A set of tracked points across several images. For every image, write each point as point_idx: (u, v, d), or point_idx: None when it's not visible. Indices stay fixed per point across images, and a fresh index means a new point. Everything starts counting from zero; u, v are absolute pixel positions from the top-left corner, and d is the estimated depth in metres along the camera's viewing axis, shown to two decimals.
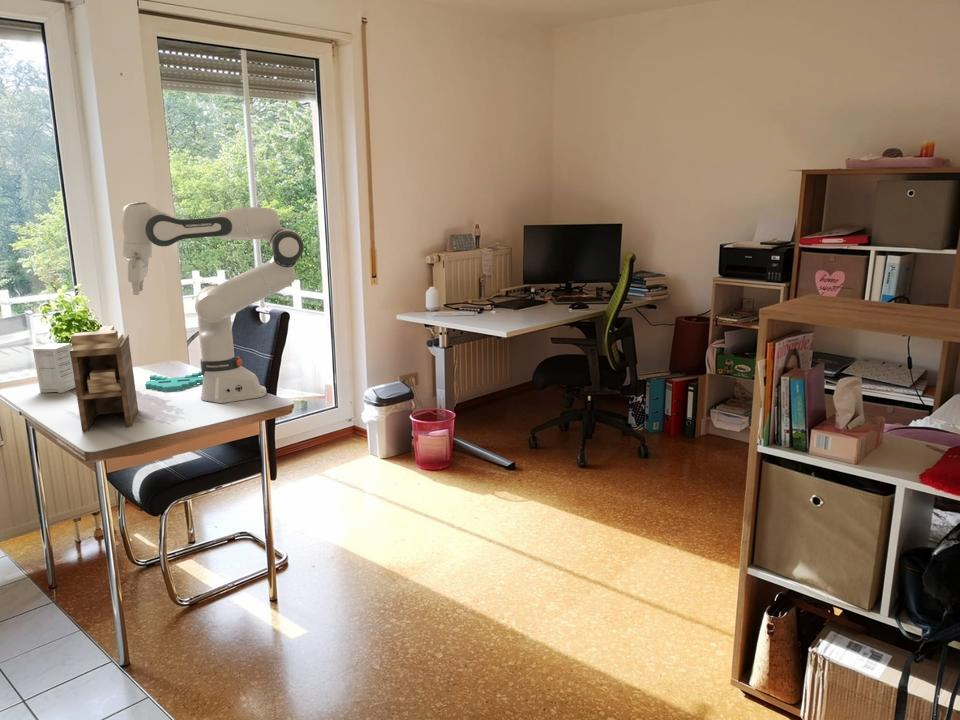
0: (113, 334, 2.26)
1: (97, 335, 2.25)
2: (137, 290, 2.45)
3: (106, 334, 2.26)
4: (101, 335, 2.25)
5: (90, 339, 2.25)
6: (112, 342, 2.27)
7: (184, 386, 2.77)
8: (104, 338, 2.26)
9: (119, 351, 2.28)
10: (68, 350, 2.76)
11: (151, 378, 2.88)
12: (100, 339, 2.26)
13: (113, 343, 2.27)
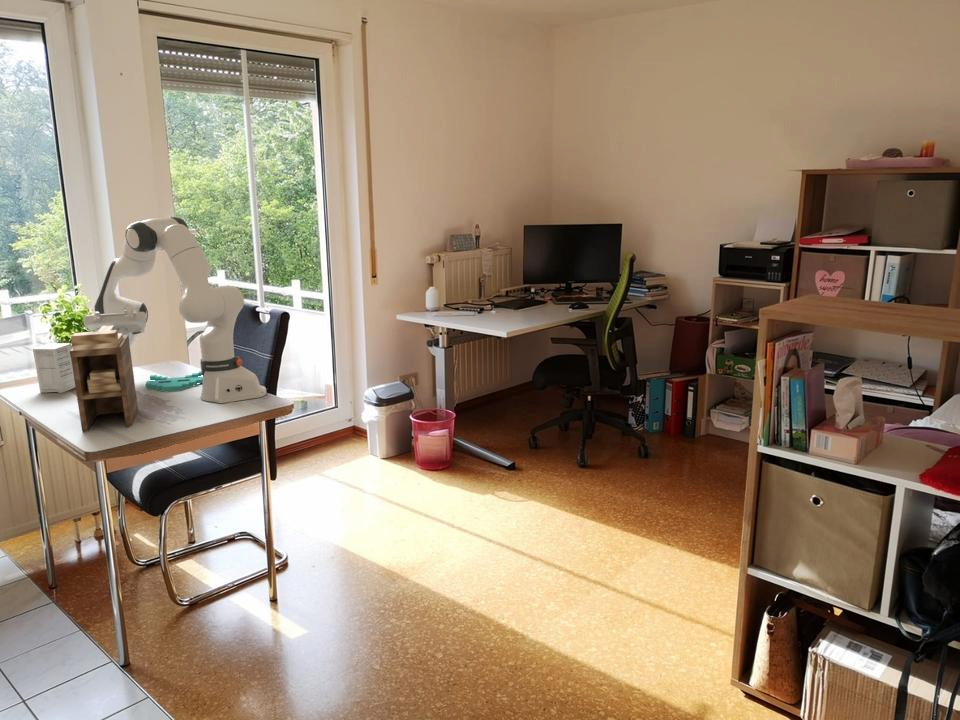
0: (113, 334, 2.26)
1: (97, 335, 2.25)
2: (95, 314, 2.61)
3: (106, 334, 2.26)
4: (101, 335, 2.25)
5: (90, 339, 2.25)
6: (112, 342, 2.27)
7: (184, 386, 2.77)
8: (104, 338, 2.26)
9: (119, 351, 2.28)
10: (68, 350, 2.76)
11: (151, 378, 2.88)
12: (100, 339, 2.26)
13: (113, 343, 2.27)
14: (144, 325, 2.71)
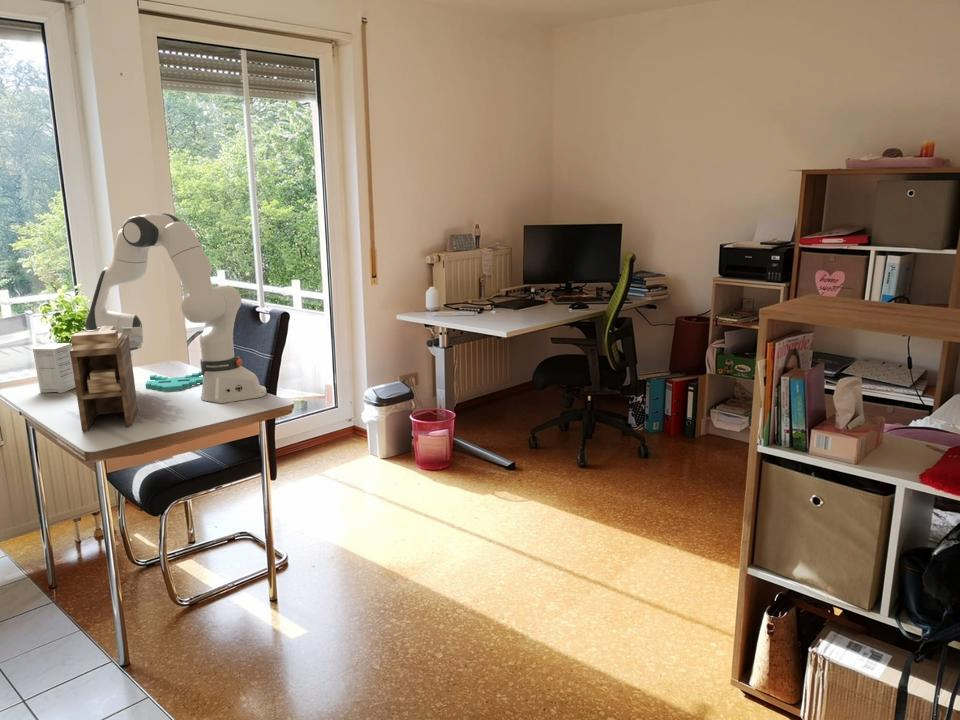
0: (113, 334, 2.26)
1: (97, 335, 2.25)
2: (97, 329, 2.49)
3: (106, 334, 2.26)
4: (101, 335, 2.25)
5: (90, 339, 2.25)
6: (112, 342, 2.27)
7: (184, 386, 2.77)
8: (104, 338, 2.26)
9: (119, 351, 2.28)
10: (68, 350, 2.76)
11: (151, 378, 2.88)
12: (100, 339, 2.26)
13: (113, 343, 2.27)
14: (141, 341, 2.59)
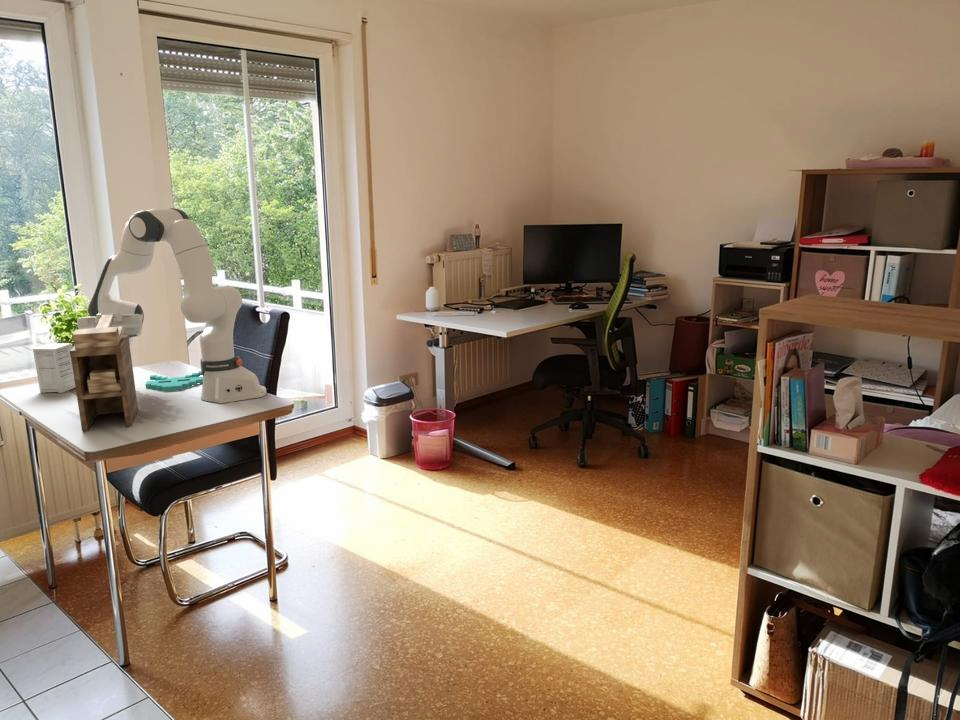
0: (114, 333, 2.29)
1: (98, 334, 2.27)
2: None
3: (107, 333, 2.28)
4: (102, 334, 2.28)
5: (92, 337, 2.27)
6: (113, 340, 2.29)
7: (184, 386, 2.77)
8: (105, 336, 2.28)
9: (119, 351, 2.28)
10: (68, 350, 2.76)
11: (151, 378, 2.88)
12: (101, 337, 2.28)
13: (114, 341, 2.29)
14: (140, 328, 2.61)
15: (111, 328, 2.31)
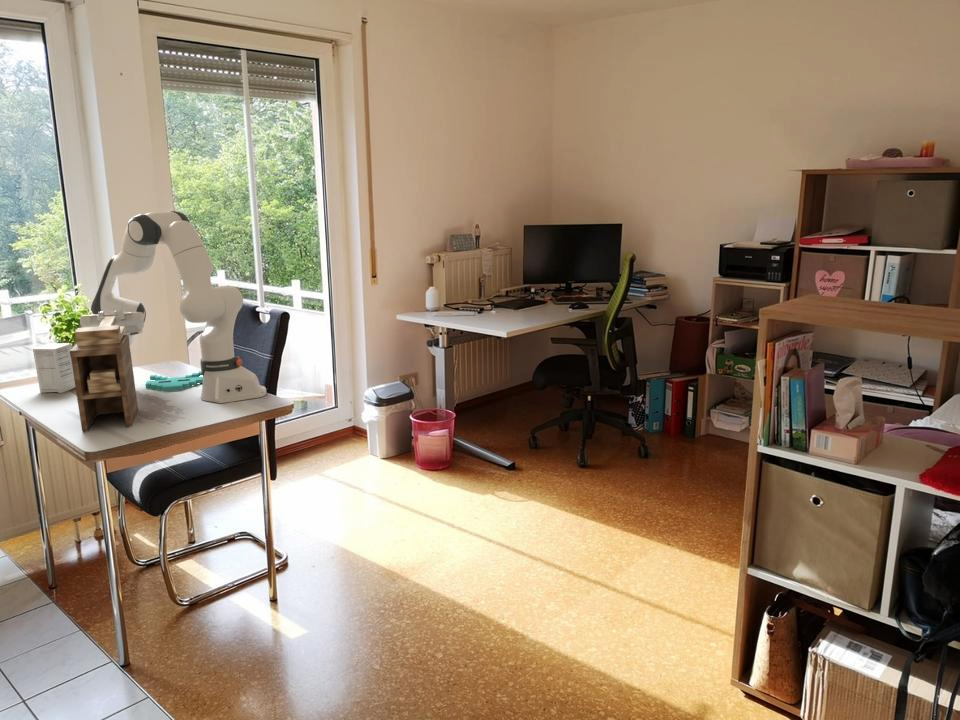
0: (116, 330, 2.32)
1: (100, 331, 2.31)
2: (99, 314, 2.56)
3: (109, 330, 2.32)
4: (104, 331, 2.31)
5: (94, 334, 2.31)
6: (115, 338, 2.33)
7: (184, 386, 2.77)
8: (107, 334, 2.32)
9: (119, 351, 2.28)
10: (68, 350, 2.76)
11: (151, 378, 2.88)
12: (103, 335, 2.32)
13: (115, 339, 2.33)
14: (142, 325, 2.65)
15: (113, 326, 2.35)
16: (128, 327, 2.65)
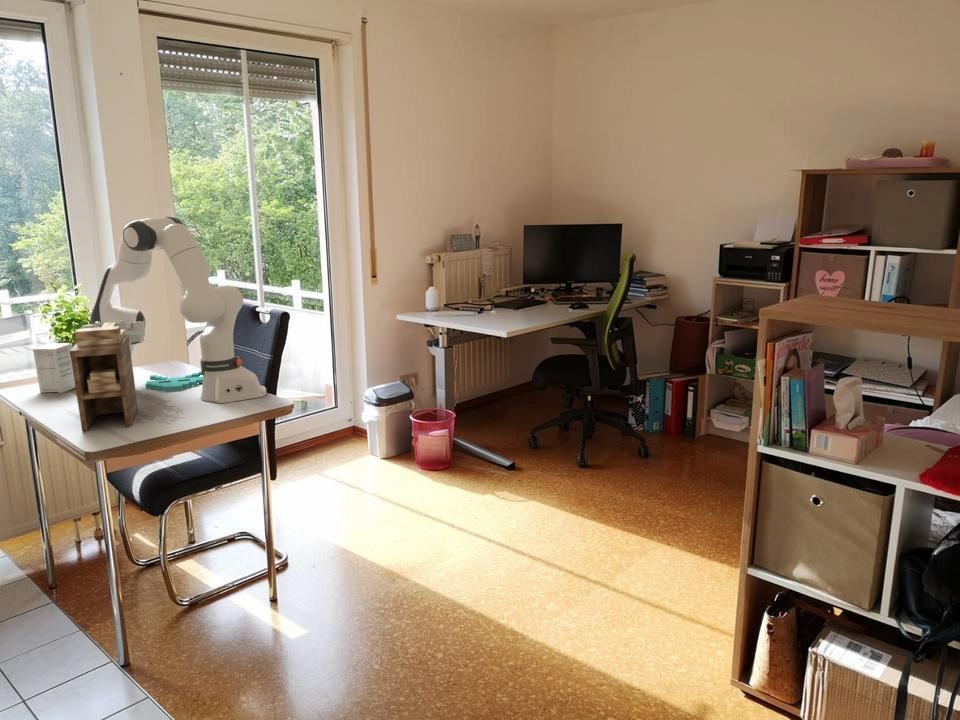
0: (116, 330, 2.33)
1: (100, 331, 2.31)
2: None
3: (109, 330, 2.32)
4: (104, 331, 2.32)
5: (94, 334, 2.31)
6: (115, 338, 2.33)
7: (184, 386, 2.77)
8: (107, 334, 2.32)
9: (119, 351, 2.28)
10: (68, 350, 2.76)
11: (151, 378, 2.88)
12: (103, 335, 2.32)
13: (115, 339, 2.33)
14: (143, 335, 2.66)
15: (113, 327, 2.35)
16: (129, 336, 2.66)
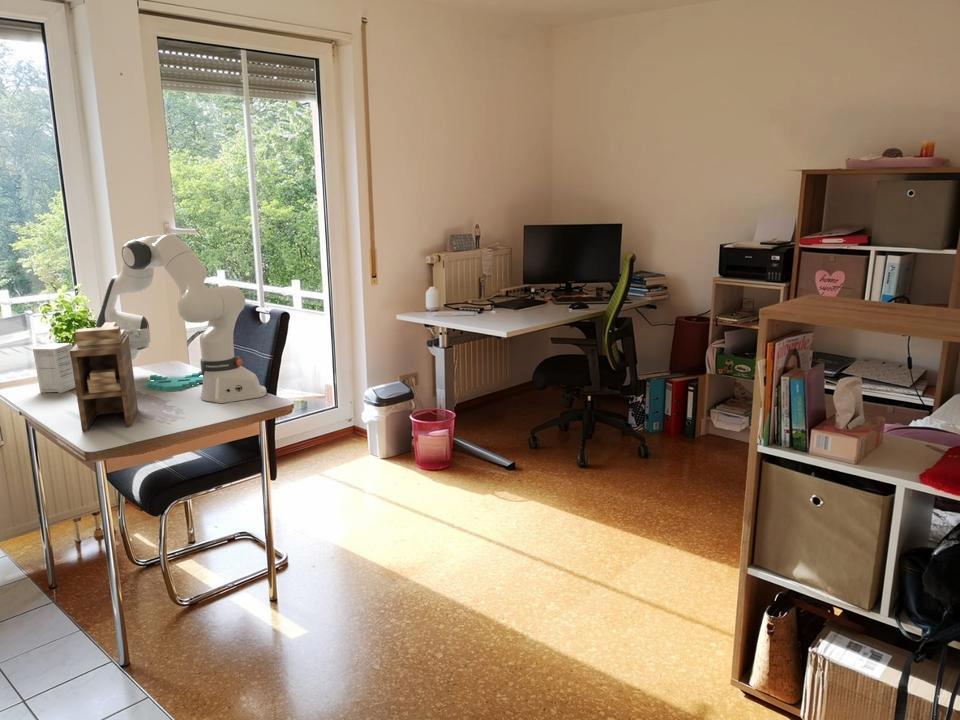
0: (116, 330, 2.33)
1: (100, 331, 2.31)
2: None
3: (109, 330, 2.32)
4: (104, 331, 2.32)
5: (94, 334, 2.31)
6: (115, 338, 2.33)
7: (184, 386, 2.77)
8: (107, 334, 2.32)
9: (119, 351, 2.28)
10: (68, 350, 2.76)
11: (151, 378, 2.88)
12: (103, 335, 2.32)
13: (115, 339, 2.33)
14: (149, 341, 2.79)
15: (113, 327, 2.35)
16: (135, 343, 2.79)
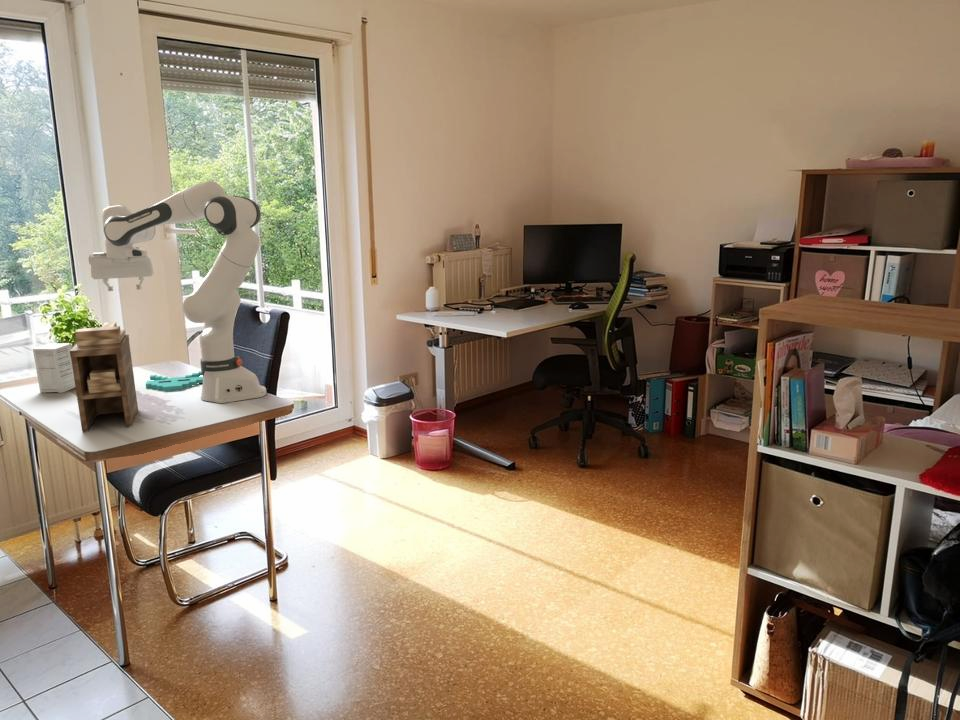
0: (116, 330, 2.33)
1: (100, 331, 2.31)
2: None
3: (109, 330, 2.32)
4: (104, 331, 2.32)
5: (94, 334, 2.31)
6: (115, 338, 2.33)
7: (184, 386, 2.77)
8: (107, 334, 2.32)
9: (119, 351, 2.28)
10: (68, 350, 2.76)
11: (151, 378, 2.88)
12: (103, 335, 2.32)
13: (115, 339, 2.33)
14: None
15: (113, 327, 2.35)
16: None
